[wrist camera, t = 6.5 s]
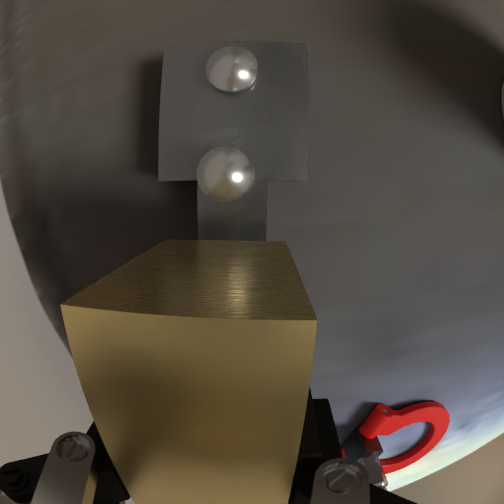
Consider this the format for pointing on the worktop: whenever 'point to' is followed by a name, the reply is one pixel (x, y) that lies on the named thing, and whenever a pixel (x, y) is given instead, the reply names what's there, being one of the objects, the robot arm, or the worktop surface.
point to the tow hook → (385, 423)
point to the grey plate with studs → (234, 129)
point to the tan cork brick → (198, 369)
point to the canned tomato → (502, 99)
